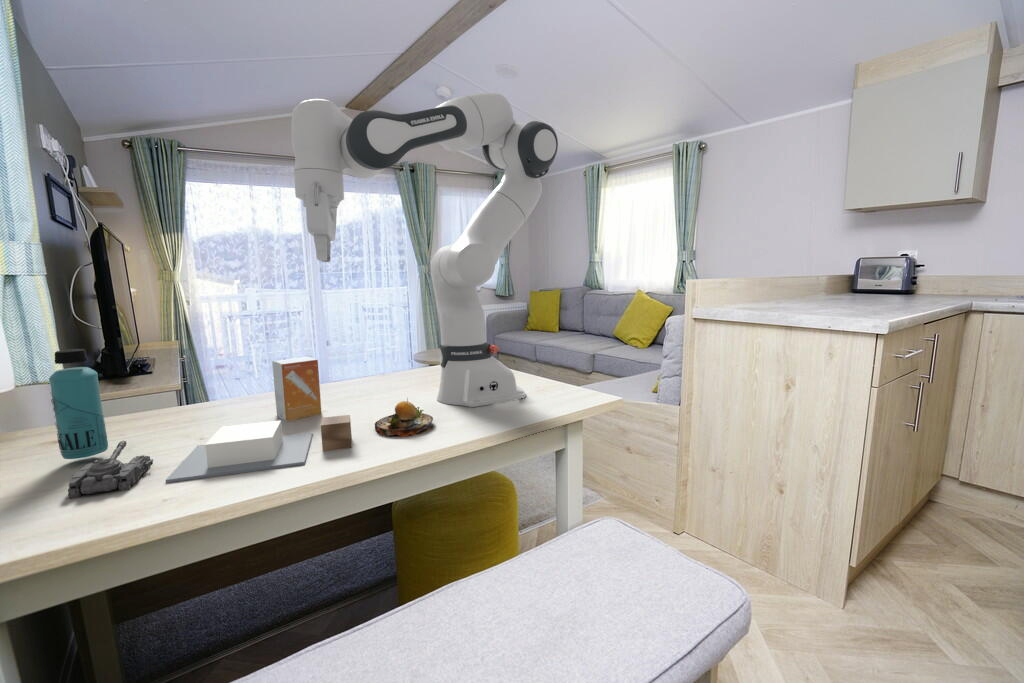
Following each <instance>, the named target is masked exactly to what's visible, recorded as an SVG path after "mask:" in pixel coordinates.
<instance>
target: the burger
mask: <svg viewBox="0 0 1024 683" xmlns="http://www.w3.org/2000/svg"><path fill="white" fill-rule="evenodd" d="M394 412H395V413H393V414H391V415H390V414H389V415H387V416H384V417H382V418H380V419H378V420H377V421H375V423H374V431H375V433H376V434H380V435H381V436H382V437H389V436H394V435H395V436H396V435H397V437H399V438H402V437H404V438H406V437H407V436H409V435H411V436H417V435H421V434H424V433H427V432H429V431H431V430H432V429H433V428H434V425H432V422H433V421H434V418H433V416H431V415H430V414H427V413H423V412H424V409H420V406H417V407H416V406H415V405H414V404H413V403H412V402H410V401H409V399H408V397H407V401H405V400H404V401H400V402H398V403H397V404H396V405H395V406H394Z"/></svg>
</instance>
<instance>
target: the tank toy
mask: <svg viewBox="0 0 1024 683" xmlns="http://www.w3.org/2000/svg"><path fill="white" fill-rule="evenodd" d="M126 447H127V441H126V440H121V441H120V442H118V444H117V445H116V447H115V449H114V450H113V452H112V454H111V456H110V457H109V458H104V459H101V460H98V459H95V460H94V461H91V462H89V463H86V464H85V465H84V466H83V467H81V468H80V469H79V470H78V471H77V472H75V473H73V474H72V475H71V477H69V480H68V490H67V496H68V499H70V500H71V499H76V498H80V497H81V496H82V494H83V495H91V494H94V493H99V492H105V493H106V492H111V491H113V490H116V489H118V490H119V491H127V490H128V491H129V490H131V489H132V486H131V485H134V484H135V483H136V482H137V481H139V480H140V478H141V477H142V476H143V474H145V472H146V471H147V470H148V469H150V468H151V466H152V465H153V463H154V459H153V458H152V459H151V456H150V455H145V454H143V455H136V456H135V457H133V458H131V459H130V461H128V462H125V463H124V462H122V461H121V460H119V459H117V458H118V457H119V456H120V455H121V453H122V451H123V450H124V449H125V448H126ZM81 493H82V494H81Z"/></svg>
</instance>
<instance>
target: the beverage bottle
mask: <svg viewBox="0 0 1024 683" xmlns="http://www.w3.org/2000/svg"><path fill="white" fill-rule="evenodd" d="M86 361H88V356H87V352H86V349H85V348H69V349H62V350H58V351H57V350H56V351H55V352H54V364H56V365H59V364H60V365H65V364H74V363H75V364H76V363H81V362H82V363H83V362H86ZM98 376H99V374H98V372H97V371H96V370H95V369H92V368H90V367H88V366H80V367H79V366H78V367H77V366H75V367H69V368H63V369H58V370H56V371H55V372H53V373H52V374H51V375H50V377H48V381H49V384H50V391H49V392H50V395H51V398H52V399H51V405H52V411H53V413H54V417H53V418H54V419H55V423H54V424H55V429H56V431H57V432H56V435H57V436H56V437H57V442H58V443H57V444H58V448H59V453H60V456H61V457H62V458H63V459H65V460H77V459H78V460H79V459H84V458H88V457H93V456H95V455H99V454H102V453H104V452H106V451H107V450H108V448H109V442H108V440H109V439H108V435H107V430H106V428H107V426H106V422H105V421H106V420H105V417H104V413H103V405H102V398H101V390H100V384H99V377H98Z"/></svg>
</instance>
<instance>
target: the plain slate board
mask: <svg viewBox="0 0 1024 683" xmlns="http://www.w3.org/2000/svg"><path fill="white" fill-rule="evenodd" d="M313 434H314V433H313V432H305V433H294V434H286V435H283V442H282V444H281V446H280V448H279V451H278V453H277V455H276V458H275V459H274V460H266V461H258V462H250V463H242V464H235V465H227V466H219V467H211V468H208V464H207V456H206V447H205V444H200V445H196V447H195V448H194V449H193V450H192V451H191V452H190V453H189V454H188V455H187V456H186V457H185V458H184V460H182V461H181V463H180V464H179V465H178V466H177V467H176V468H175V469H174V470H173V472H172V473H170V474H169V475H168V477H167V478H165V483H166V484H169V483H175V482H176V483H177V482H183V481H190V480H197V479H206V478H212V477H213V478H214V477H220V476H229V475H234V474H243V473H249V472H250V473H251V472H258V471H259V472H260V471H265V470H274V469H281V468H289V467H296V466H302V465H306V461H307V458H308V454H309V450H310V446H311V442H312V439H313V436H314V435H313Z"/></svg>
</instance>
